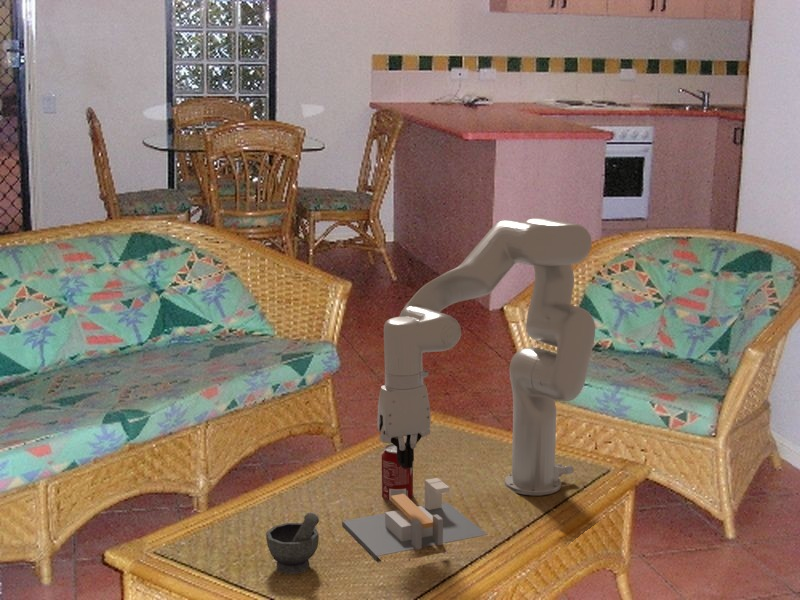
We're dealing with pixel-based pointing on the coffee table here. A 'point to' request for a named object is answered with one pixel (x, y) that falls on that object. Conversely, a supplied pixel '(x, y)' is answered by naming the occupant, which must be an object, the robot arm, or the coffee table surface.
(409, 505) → the strap
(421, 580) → the coffee table surface
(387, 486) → the soda can
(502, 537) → the coffee table surface
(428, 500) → the block
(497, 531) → the coffee table surface
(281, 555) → the mortar and pestle
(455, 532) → the board
